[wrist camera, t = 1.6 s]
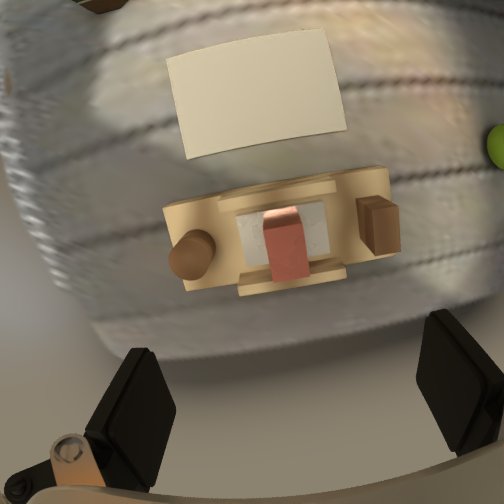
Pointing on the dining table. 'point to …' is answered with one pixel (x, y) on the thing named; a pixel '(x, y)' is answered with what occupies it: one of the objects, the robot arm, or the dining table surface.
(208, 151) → the mat
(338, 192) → the body
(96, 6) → the beer bottle
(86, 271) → the dining table surface
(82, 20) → the dining table surface
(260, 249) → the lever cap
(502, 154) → the snail figurine
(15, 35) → the dining table surface
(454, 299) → the dining table surface
